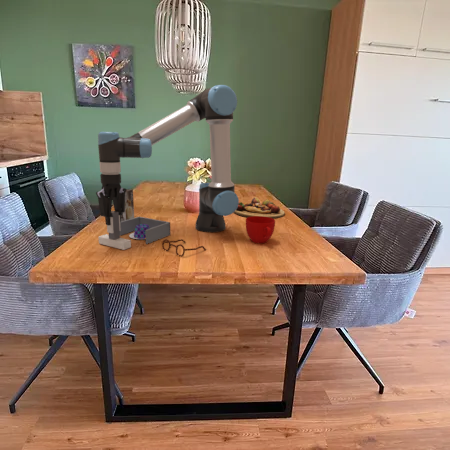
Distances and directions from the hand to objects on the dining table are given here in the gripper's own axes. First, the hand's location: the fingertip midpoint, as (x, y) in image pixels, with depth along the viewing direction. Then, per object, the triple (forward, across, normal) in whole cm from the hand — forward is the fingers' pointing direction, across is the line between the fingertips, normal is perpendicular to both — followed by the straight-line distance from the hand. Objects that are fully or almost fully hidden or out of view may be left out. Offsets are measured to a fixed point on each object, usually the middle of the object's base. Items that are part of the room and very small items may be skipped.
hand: (114, 231), depth 130 cm
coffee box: (+6, -32, -26) cm, 42 cm away
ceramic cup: (+6, -38, +49) cm, 62 cm away
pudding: (+7, -16, 0) cm, 18 cm away
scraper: (+6, 0, 0) cm, 6 cm away
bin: (+6, -17, 0) cm, 18 cm away
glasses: (+7, -12, +26) cm, 30 cm away
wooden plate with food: (+7, -91, +26) cm, 95 cm away
